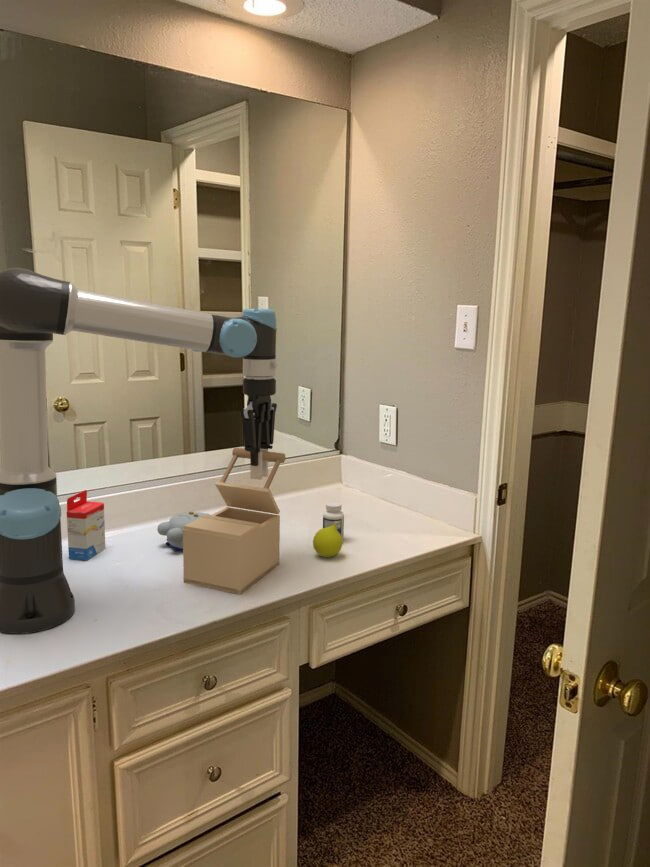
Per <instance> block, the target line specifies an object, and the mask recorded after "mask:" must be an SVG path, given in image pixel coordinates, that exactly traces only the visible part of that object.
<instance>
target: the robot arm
mask: <svg viewBox="0 0 650 867" xmlns="http://www.w3.org/2000/svg"><path fill="white" fill-rule="evenodd" d="M241 314H242V315H241V316H239V317H227V316H224V315H223V316H222V315H219V314H218V315H217V314H211V313H209V312H208V313H206V312H202V311H197V310H191V309H185V308H181V307H174V306H170V305H164V304H161V303H160V304H158V303H153V302H149V301H143V300H138V299H131V298H127V297H122V296H121V297H120V296H116V295H110V294H106V293H100V292H95V291H89V290H84V289H78V288H77V287H76V286H75V285H74V284H73V283H72V281H68V280H67V281H66V280H62V279H57V278H53V277H49V276H47V275H43V274H40V273H38V272H35V271H33V270H30V269H27V268H25V267H24V268H23V267H9V268H5V269H2V270H0V453H1V454H0V457H1V458H0V459H1V469H0V632H1V633H5V634H29V633H34V632H35V633H36V632H40V631H45V630H48V629H51V628H54V627H56V626H59V625H60V624H63V623H65V622H66V621H67V620H69V619H70V618H71V617H72V616H73V615H74V613H75V611H76V606H75V605H76V604H75V603H76V600H75V596H74V594H73V592H72V591H71V587H70V584H69V583H68V580H67V578H66V575H65V573H64V562H63V560H64V559H63V557H64V556H63V541H62V540H63V539H62V538H63V537H62V522H61V517H62V508H61V505H60V500H59V498H58V485H57V480H58V478H57V473H56V472H55V471H54V470H53V469H52V468H50V467H49V448H48V441H49V440H48V411H47V409H48V408H47V407H48V405H47V370H46V368H47V367H46V364H47V363H46V349H47V348H48V347H49V346H50V345H51V344H52V343H53V342H54V335H63V336H66V335H67V334H69V333H70V332H79V333H86V334H89V335H90V334H92V335H97V336H104V337H111V338H116V339H124V340H129V341H136V342H142V343H147V344H149V343H150V344H156V345H161V346H168V347H174V348H181V349H187V350H192V351H194V352H201V353H202V352H203V353H211V354H216V355H217V354H218V355H222V356H223V355H224V356H228V357H230V358H242V376H243V377H244V378H243V379H242V393H243V394H244V395H245V396H246V397H247V402H246V408H241V409H240V415H241V420H242V431H243V442H244V446H243V447H244V449H245V450H246V451H250V459H249V460H250V461H249V462H250V463H249V464H250V467H249V468H250V469H249V470H250V471H249V472H250V479H251V480H252V479H253V480H260V481H261V480H263V477H265V478H268V477H269V461H263V460H262V452H260V451H268V452H269V450H272V449H273V444H274V439H275V438H274V437H275V425H276V424H275V422H276V412H277V408H278V406H277V403H276V402H275V403H274V402H272V398H271V396H275V394H277V380H276V379H275V378H274V377H275V376H276V374H277V372H276V370H277V369H276V368H277V367H278V365H277V362H276V361H277V360H276V358H277V355H276V354H277V353H276V351H277V331H278V330H277V329H278V328H277V318H276V317H277V316H276V312H275V311H274V310H273V309H271V308H244V309H243V310H242V313H241Z"/></svg>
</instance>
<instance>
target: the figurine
mask: <svg viewBox="0 0 650 867" xmlns="http://www.w3.org/2000/svg"><path fill="white" fill-rule="evenodd" d="M204 515H211V514H210V513H205V512H199V511H198V512H194V511H192V510H191V511H190V510H189V511H188V512H183V513H177V514H174V515H173V516H172V517H170V519H169V520H168V521H165V522H161V523H159V524H158V526H157V529H156V530H157V533H158V535H160V536H166V540H167V541H166V542H165V545H166V546H167V547H171V548H173V549H174V552H175V553H177V552H183V529H184V526H185V525H187V524H189V523H191V522H193V521H195V520H197V519H199V518H201V517H202V516H204Z"/></svg>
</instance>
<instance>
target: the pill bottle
mask: <svg viewBox="0 0 650 867" xmlns="http://www.w3.org/2000/svg"><path fill="white" fill-rule="evenodd" d="M335 521H336V522H337V524H336V528H337V531H338V532H339V533H340V535H341V537H342V542H343V541H344V526H345V525H344V523H345V514H344V512H343V511H342V503H341V502H337V501H329V502H326V503H325V511H324V512H323V514H322V528H326V527H331V526H332V525H333V524H334V522H335Z"/></svg>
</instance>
